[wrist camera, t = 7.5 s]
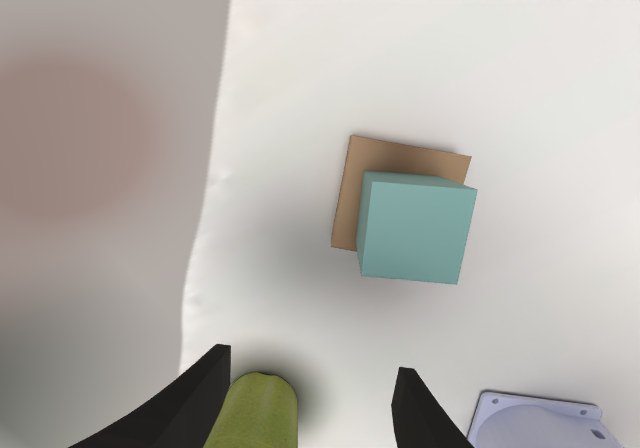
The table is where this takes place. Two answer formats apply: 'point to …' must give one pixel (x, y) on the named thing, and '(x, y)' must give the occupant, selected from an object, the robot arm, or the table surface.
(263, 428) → the plant pot
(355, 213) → the walnut slab
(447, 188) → the teal cube
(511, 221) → the table surface
